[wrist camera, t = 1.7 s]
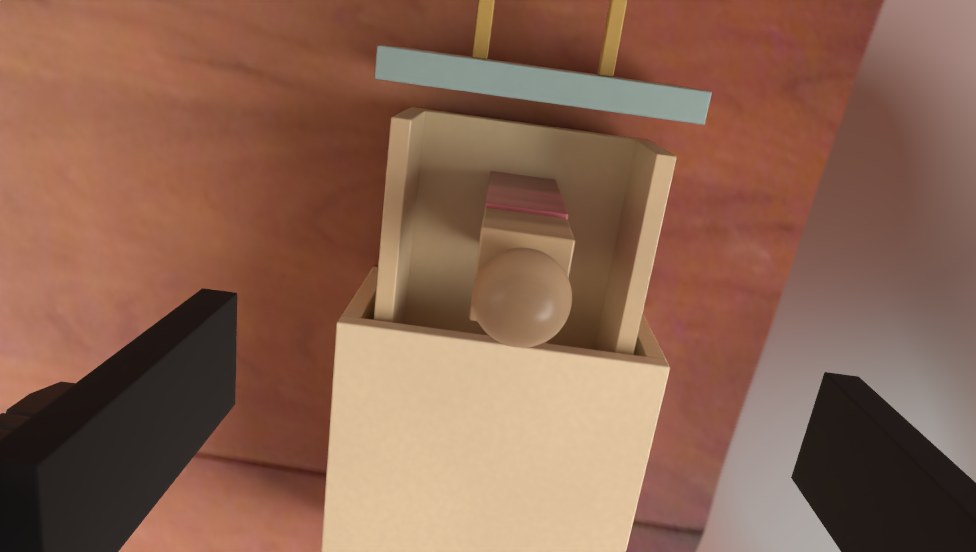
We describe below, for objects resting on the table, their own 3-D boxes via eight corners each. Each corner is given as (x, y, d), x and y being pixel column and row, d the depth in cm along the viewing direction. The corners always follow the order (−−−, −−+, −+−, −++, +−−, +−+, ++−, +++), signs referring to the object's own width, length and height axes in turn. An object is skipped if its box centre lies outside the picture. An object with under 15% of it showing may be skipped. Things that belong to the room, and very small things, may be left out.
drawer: (410, -65, 29) (387, -93, 23) (698, -24, 29) (743, -42, 23) (375, 342, 35) (349, 396, 29) (614, 374, 35) (633, 435, 29)
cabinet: (372, 265, 34) (336, 322, 27) (637, 301, 34) (670, 367, 27) (351, 520, 39) (315, 625, 32) (583, 550, 39) (600, 661, 32)
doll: (490, 170, 31) (477, 248, 18) (556, 179, 31) (587, 263, 18) (480, 244, 32) (461, 364, 19) (543, 253, 32) (565, 379, 19)
